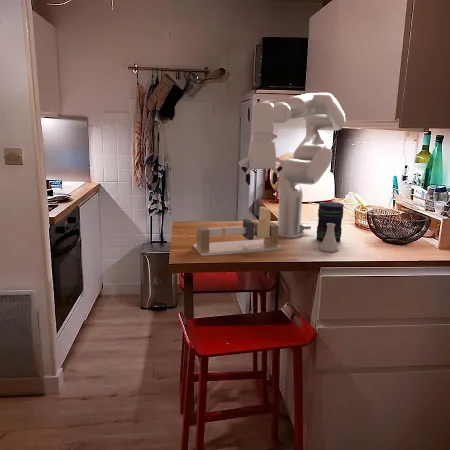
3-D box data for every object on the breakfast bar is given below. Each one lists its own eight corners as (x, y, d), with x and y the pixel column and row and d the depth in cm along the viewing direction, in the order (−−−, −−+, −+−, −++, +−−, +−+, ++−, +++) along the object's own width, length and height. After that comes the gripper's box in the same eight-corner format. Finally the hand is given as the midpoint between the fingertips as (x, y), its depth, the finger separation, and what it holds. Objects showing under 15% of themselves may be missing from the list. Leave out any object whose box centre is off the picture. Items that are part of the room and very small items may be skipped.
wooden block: (263, 233, 171) (264, 206, 169) (269, 237, 166) (270, 209, 163) (251, 234, 170) (252, 207, 167) (257, 238, 164) (258, 210, 161)
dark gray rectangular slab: (247, 235, 169) (247, 219, 168) (253, 239, 163) (254, 222, 162) (242, 235, 169) (243, 219, 167) (248, 240, 163) (249, 223, 161)
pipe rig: (269, 241, 176) (270, 220, 174) (282, 249, 165) (283, 227, 163) (193, 246, 166) (193, 224, 164) (201, 256, 155) (202, 232, 153)
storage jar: (334, 236, 186) (337, 201, 182) (345, 242, 176) (348, 206, 173) (312, 237, 184) (314, 201, 180) (322, 243, 174) (325, 206, 171)
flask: (335, 253, 162) (337, 227, 160) (316, 250, 166) (318, 224, 163) (341, 249, 168) (343, 223, 166) (323, 245, 172) (324, 220, 169)
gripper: (283, 137, 166) (281, 182, 170) (237, 137, 164) (237, 182, 169) (288, 138, 158) (286, 185, 163) (240, 138, 157) (239, 186, 161)
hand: (261, 184), depth 166 cm, fingers open, 9 cm apart
